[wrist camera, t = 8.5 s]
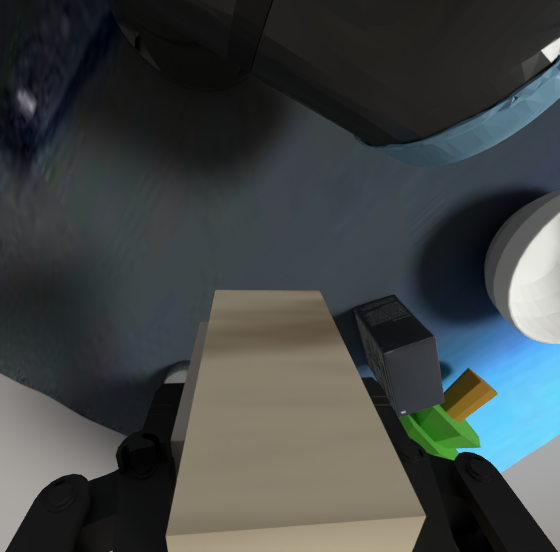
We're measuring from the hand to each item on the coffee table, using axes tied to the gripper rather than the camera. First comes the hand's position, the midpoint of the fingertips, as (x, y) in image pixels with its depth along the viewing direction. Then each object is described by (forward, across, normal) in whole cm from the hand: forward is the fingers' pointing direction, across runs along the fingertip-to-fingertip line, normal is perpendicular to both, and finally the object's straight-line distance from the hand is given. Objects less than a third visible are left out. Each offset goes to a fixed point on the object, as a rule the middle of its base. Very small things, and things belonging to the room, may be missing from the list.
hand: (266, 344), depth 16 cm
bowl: (+24, +37, -2) cm, 44 cm away
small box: (+24, +19, -15) cm, 34 cm away
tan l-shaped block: (0, 0, -8) cm, 8 cm away
